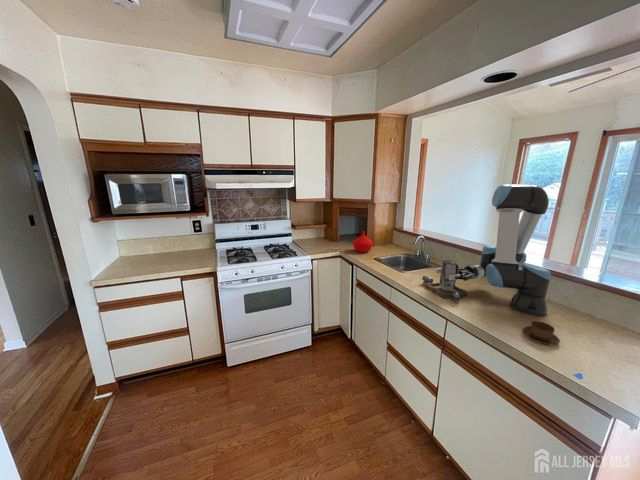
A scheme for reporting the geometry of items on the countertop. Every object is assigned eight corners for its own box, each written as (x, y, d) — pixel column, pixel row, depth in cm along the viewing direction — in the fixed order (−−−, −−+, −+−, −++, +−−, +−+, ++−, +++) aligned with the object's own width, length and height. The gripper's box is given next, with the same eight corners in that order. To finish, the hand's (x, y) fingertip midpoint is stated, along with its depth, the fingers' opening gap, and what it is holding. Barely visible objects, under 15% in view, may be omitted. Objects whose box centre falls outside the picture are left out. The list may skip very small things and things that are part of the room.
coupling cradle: (467, 296, 145) (468, 292, 145) (444, 298, 141) (444, 294, 141) (447, 285, 160) (447, 281, 160) (425, 287, 156) (426, 283, 156)
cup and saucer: (539, 348, 100) (543, 334, 99) (514, 331, 112) (517, 318, 110) (567, 347, 101) (570, 333, 100) (539, 330, 113) (542, 317, 111)
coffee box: (454, 291, 145) (458, 265, 142) (442, 290, 147) (446, 264, 143) (450, 285, 154) (453, 260, 150) (438, 284, 155) (442, 259, 152)
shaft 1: (432, 285, 159) (433, 278, 158) (430, 286, 158) (431, 279, 157) (424, 282, 164) (425, 275, 163) (421, 283, 162) (422, 276, 161)
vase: (374, 253, 229) (376, 233, 224) (355, 254, 226) (356, 233, 222) (368, 248, 246) (369, 229, 242) (350, 249, 244) (351, 229, 240)
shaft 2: (449, 298, 142) (451, 290, 141) (455, 298, 142) (456, 290, 140) (454, 303, 136) (455, 295, 135) (460, 303, 136) (461, 295, 135)
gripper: (488, 284, 143) (456, 288, 137) (457, 271, 164) (429, 273, 159) (491, 272, 141) (458, 275, 136) (459, 260, 163) (430, 262, 157)
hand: (442, 274), depth 147 cm, fingers closed on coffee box, 10 cm apart
